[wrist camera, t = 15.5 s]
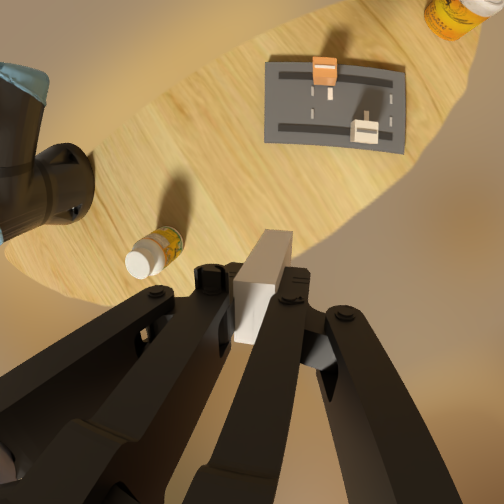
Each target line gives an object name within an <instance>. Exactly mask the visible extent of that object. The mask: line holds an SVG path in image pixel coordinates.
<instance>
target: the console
mask: <svg viewBox="0 0 504 504" xmlns="http://www.w3.org/2000/svg"><path fill="white" fill-rule="evenodd" d="M354 120H364V121H372V122H378V144H368V143H359V142H350V128H351V122H352V121H354ZM264 143H283V144H304V145H320V146H333V147H345V148H355V149H365V150H373V151H382V152H389V153H397V154H403V155H404V146H405V73H402V72H396V71H390V70H384V69H377V68H370V67H361V66H352V65H342V64H337V80H336V84H335V86H328V85H314V82H313V63H310V62H265V125H264Z"/></svg>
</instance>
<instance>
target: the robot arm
mask: <svg viewBox="0 0 504 504" xmlns="http://www.w3.org/2000/svg"><path fill="white" fill-rule="evenodd" d="M48 88H49V77H48V76H47V74H46V73H44V72H42V71H40V70H37V69H33V68H29V67H26V66H21V65H16V64H11V63H4V62H0V245H1V244H3V243H4V242H6V241H8V240H10V239H12V238H14V237H16V236H19V235H21V234H23V233H25V232H27V231H30V230H32V229H34V228H36V227H39V226H41V225H44V224H46V225H68V224H71V223H74V222H76V221H78V220H80V219H82V218H83V217H84V216H85V215H86V213H87V212H88V210H89V208H90V206H91V203H92V199H93V194H94V178H93V172H92V168H91V165H90V163H89V160H88V158H87V157H86V155H85V153H84V152H83V151H82V150H81V149H80V148H79V147H77V146H76V145H74V144H71V143H61V144H56V145H53V146H51V147H49V148H47V149H46V150H44V151H43V152H41V153H39V154H38V155H36V156H35V154H36V148H37V142H38V136H39V131H40V125H41V121H42V117H43V112H44V108H45V106H46V97H47V92H48ZM292 235H293V231H282V230H269V229H265V231H264V233H263V234H262V236H261V237H260V239H259V240H258V242H257V244H256V245H255V247H254V248H253V250H252V251H251V253H250V255H249V256H248V258H247V259H246V261H245V262H244V263H235V262H231V263H229V264H227V265H225V266H223V265H219V264H205V265H201V266H198V267H196V268H195V269H194V276H195V290H194V291H193V293H192V294H191V295H190V296H189V297H174V291H173V289H172V288H170V287H168V286H163V285H155V286H152V287H148V288H146V289H144V290H142V291H140V292H139V293H137V294H135V295H134V296H132V297H130V298H129V299H127V300H125V301H124V302H122V303H120V304H118V305H117V306H115V307H113V308H112V309H110V310H109V311H107V312H105V313H103V314H102V315H100V316H99V317H97V318H95V319H93V320H92V321H90V322H89V323H87V324H85V325H84V326H82V327H80V328H79V329H77V330H75V331H74V332H72V333H70V334H69V335H67V336H66V337H64V338H62V339H61V340H59V341H57V342H56V343H54V344H52V345H51V346H49V347H48V348H46V349H44V350H43V351H41V352H40V353H38V354H36V355H35V356H33V357H32V358H30V359H28V360H27V361H25V362H23V363H22V364H20V365H19V366H17V367H16V368H14V369H12V370H11V371H9V372H8V373H6V374H5V375H3V376H1V377H0V504H164V495H165V490H166V487H167V485H168V483H169V481H170V479H171V477H172V474H173V472H174V470H175V468H176V466H177V464H178V462H179V460H180V458H181V456H182V454H183V451H184V449H185V447H186V445H187V443H188V441H189V439H190V437H191V435H192V433H193V430H194V428H195V426H196V424H197V422H198V420H199V418H200V415H201V413H202V411H203V409H204V407H205V405H206V403H207V400H208V398H209V396H210V394H211V392H212V390H213V387H214V385H215V383H216V380H217V379H218V376H219V374H220V372H221V370H222V368H223V365H224V363H225V361H226V359H227V356H228V354H229V352H230V350H231V337H232V335H233V333H234V341H235V342H240V343H247V344H253V345H254V346H253V349H252V352H251V354H250V357H249V360H248V363H247V365H246V368H245V371H244V373H243V376H242V379H241V381H240V384H239V387H238V389H237V392H236V395H235V397H234V400H233V403H232V405H231V408H230V410H229V413H228V416H227V418H226V421H225V423H224V426H223V428H222V431H221V434H220V436H219V439H218V441H217V444H216V446H215V449H214V451H213V454H212V456H211V459H210V461H209V462H208V463H207V464H206V465H202V466H201V467H200V468H199V469H198V471H197V472H196V474H195V476H194V478H193V480H192V482H191V485H190V487H189V489H188V491H187V494H186V496H185V498H184V500H183V503H182V504H273V502H274V498H275V494H276V490H277V485H278V480H279V475H280V471H281V466H282V462H283V457H284V452H285V447H286V442H287V437H288V431H289V426H290V420H291V415H292V409H293V403H294V397H295V391H296V385H297V379H298V373H299V366H300V363H301V364H304V365H307V366H310V367H313V368H315V369H316V376H317V379H318V383H319V387H320V390H321V394H322V398H323V402H324V405H325V409H326V413H327V417H328V421H329V424H330V428H331V432H332V436H333V440H334V444H335V448H336V452H337V456H338V460H339V464H340V468H341V472H342V476H343V481H344V485H345V489H346V493H347V498H348V502H349V504H463V503H462V501H461V499H460V496H459V494H458V492H457V489H456V487H455V485H454V483H453V480H452V478H451V476H450V474H449V471H448V469H447V467H446V465H445V463H444V461H443V459H442V457H441V455H440V452H439V450H438V448H437V446H436V445H435V442H434V440H433V438H432V436H431V434H430V432H429V430H428V428H427V426H426V424H425V422H424V420H423V419H422V417H421V415H420V413H419V411H418V409H417V407H416V405H415V404H414V402H413V400H412V398H411V396H410V394H409V392H408V390H407V389H406V387H405V385H404V383H403V381H402V380H401V378H400V376H399V374H398V372H397V371H396V369H395V367H394V365H393V364H392V362H391V360H390V358H389V357H388V355H387V353H386V351H385V350H384V348H383V346H382V345H381V343H380V341H379V339H378V338H377V336H376V334H375V333H374V331H373V329H372V328H371V326H370V325H369V323H368V321H367V319H366V318H365V316H364V315H363V313H362V312H361V311H360V310H358V309H356V308H354V307H352V306H348V305H338V306H333V307H331V308H329V309H328V310H327V311H326V313H323V312H320V311H317V310H315V309H313V308H312V307H311V306H310V305H309V303H308V294H309V283H310V272H309V271H308V270H307V268H297V267H291V252H292ZM144 328H146V331H147V335H148V338H146V339H145V340H142V338H141V334H140V331H142V330H143V329H144ZM21 478H22V479H21ZM18 479H20V480H18Z"/></svg>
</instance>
